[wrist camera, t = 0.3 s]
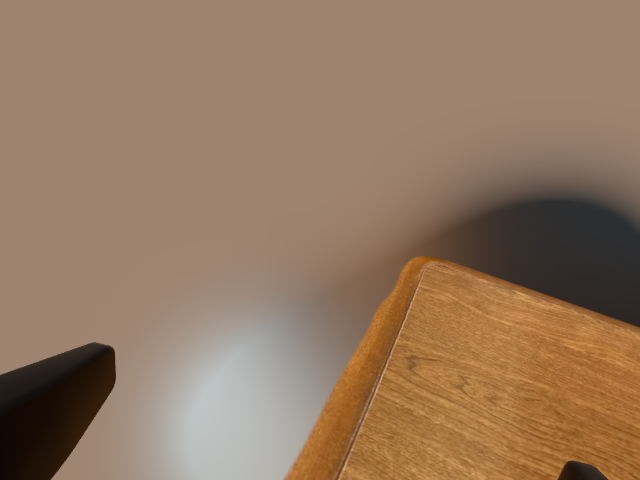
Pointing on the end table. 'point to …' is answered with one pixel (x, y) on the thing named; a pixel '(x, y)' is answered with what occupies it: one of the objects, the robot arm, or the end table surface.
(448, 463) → the end table surface
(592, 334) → the end table surface
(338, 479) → the end table surface
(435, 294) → the end table surface
